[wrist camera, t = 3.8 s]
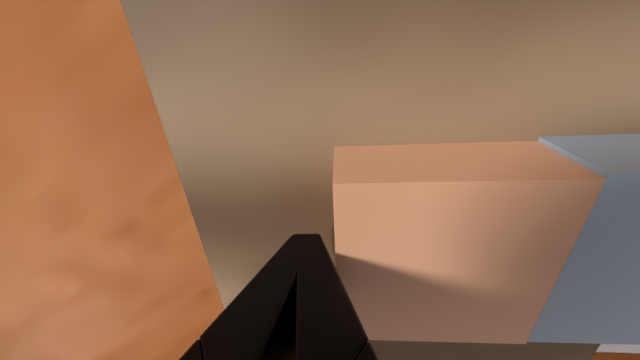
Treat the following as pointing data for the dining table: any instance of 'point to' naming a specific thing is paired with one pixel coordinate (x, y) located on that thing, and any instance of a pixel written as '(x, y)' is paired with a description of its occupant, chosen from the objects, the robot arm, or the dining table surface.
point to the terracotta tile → (456, 236)
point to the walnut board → (367, 106)
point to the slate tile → (600, 250)
